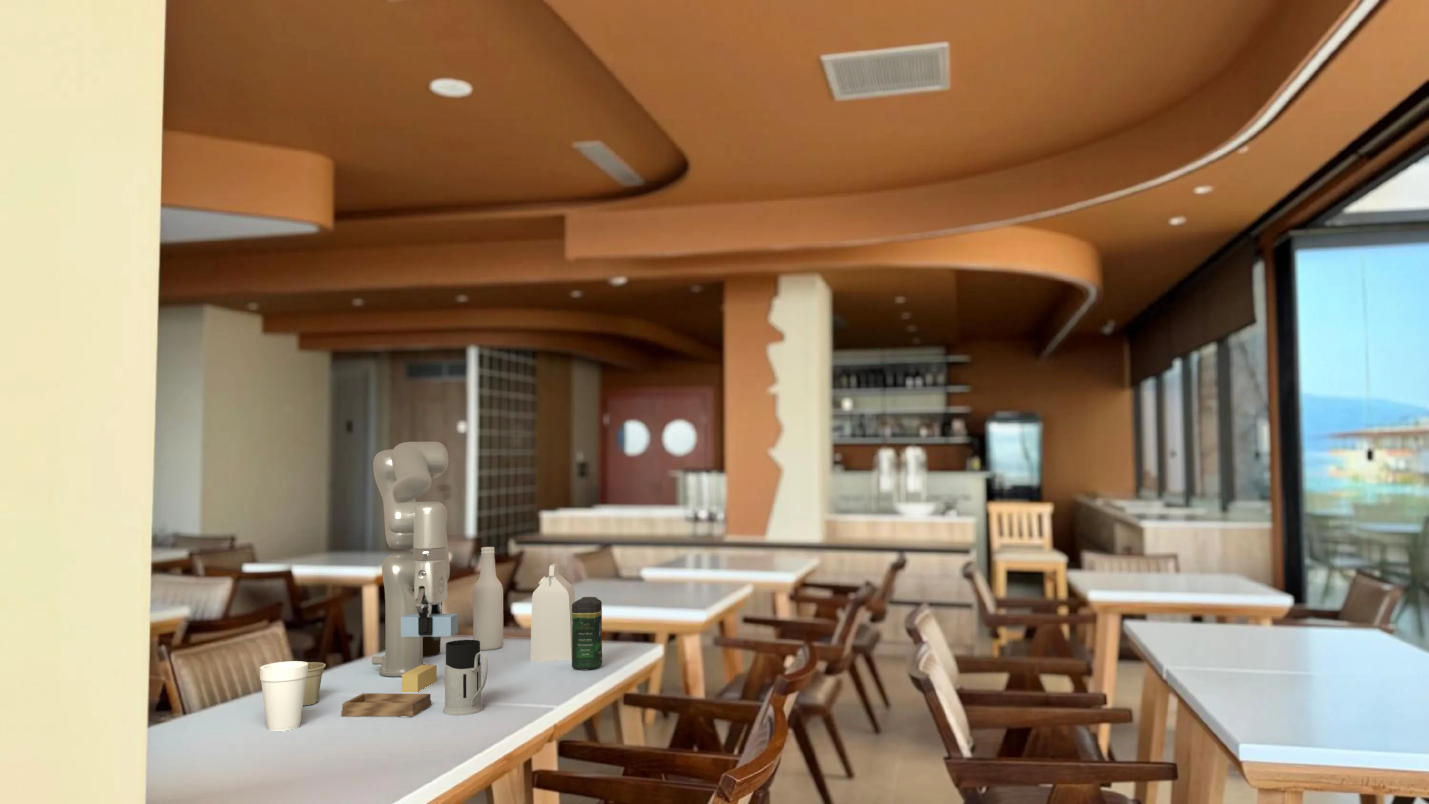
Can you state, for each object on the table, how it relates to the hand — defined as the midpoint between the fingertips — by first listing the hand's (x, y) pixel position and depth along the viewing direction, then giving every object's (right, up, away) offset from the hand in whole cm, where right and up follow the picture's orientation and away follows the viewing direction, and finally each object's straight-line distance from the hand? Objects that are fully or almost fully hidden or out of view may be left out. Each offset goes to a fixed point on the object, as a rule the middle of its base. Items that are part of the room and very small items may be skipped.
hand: (430, 632), depth 238 cm
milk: (+22, -18, +48) cm, 56 cm away
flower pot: (-28, -16, -4) cm, 33 cm away
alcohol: (0, -20, +64) cm, 67 cm away
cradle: (-6, -15, -12) cm, 20 cm away
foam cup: (-24, -15, -25) cm, 38 cm away
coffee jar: (+33, -17, +33) cm, 50 cm away
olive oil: (-18, -19, +55) cm, 61 cm away
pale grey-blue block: (0, -1, 0) cm, 1 cm away
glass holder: (+13, -15, -15) cm, 25 cm away
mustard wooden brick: (-6, -17, +12) cm, 21 cm away
